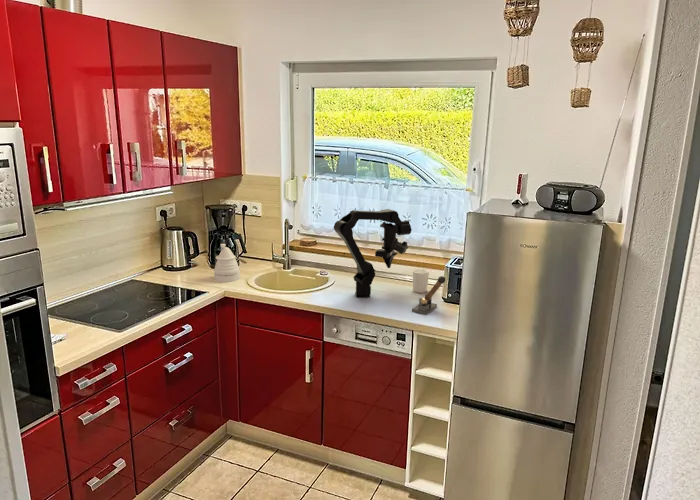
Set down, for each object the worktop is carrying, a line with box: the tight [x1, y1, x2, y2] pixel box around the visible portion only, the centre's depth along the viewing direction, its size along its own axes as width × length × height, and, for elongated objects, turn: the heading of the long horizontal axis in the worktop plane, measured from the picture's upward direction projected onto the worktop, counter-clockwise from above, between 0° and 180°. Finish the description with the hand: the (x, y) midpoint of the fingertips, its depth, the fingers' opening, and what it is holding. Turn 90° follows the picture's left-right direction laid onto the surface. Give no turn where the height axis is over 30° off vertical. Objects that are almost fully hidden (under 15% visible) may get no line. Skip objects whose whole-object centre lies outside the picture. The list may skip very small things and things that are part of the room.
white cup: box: [412, 268, 430, 294], centre depth 256 cm, size 8×8×10 cm
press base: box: [411, 293, 438, 315], centre depth 231 cm, size 7×12×6 cm, turn 150°
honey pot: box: [213, 243, 241, 283], centre depth 269 cm, size 13×13×18 cm
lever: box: [424, 275, 446, 303], centre depth 230 cm, size 3×4×15 cm
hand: (388, 267), depth 252 cm, fingers closed
